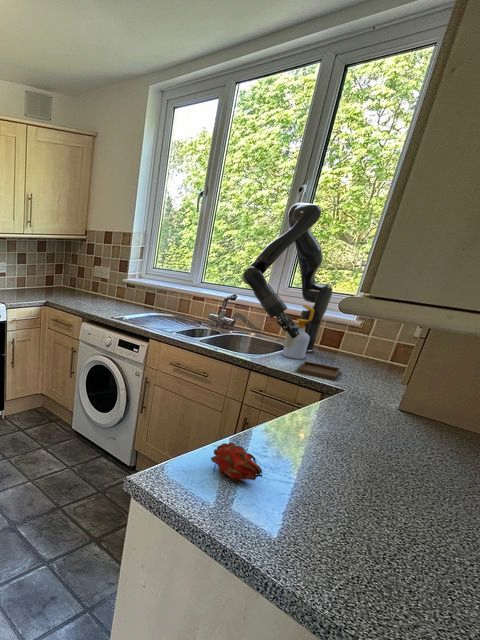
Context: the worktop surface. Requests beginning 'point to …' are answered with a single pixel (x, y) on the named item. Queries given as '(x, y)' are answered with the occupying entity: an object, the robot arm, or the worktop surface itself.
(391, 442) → the worktop surface
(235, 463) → the dragon fruit
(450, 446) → the worktop surface
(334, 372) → the tray
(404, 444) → the worktop surface
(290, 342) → the shaving stick
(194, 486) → the worktop surface
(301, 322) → the soap bottle
